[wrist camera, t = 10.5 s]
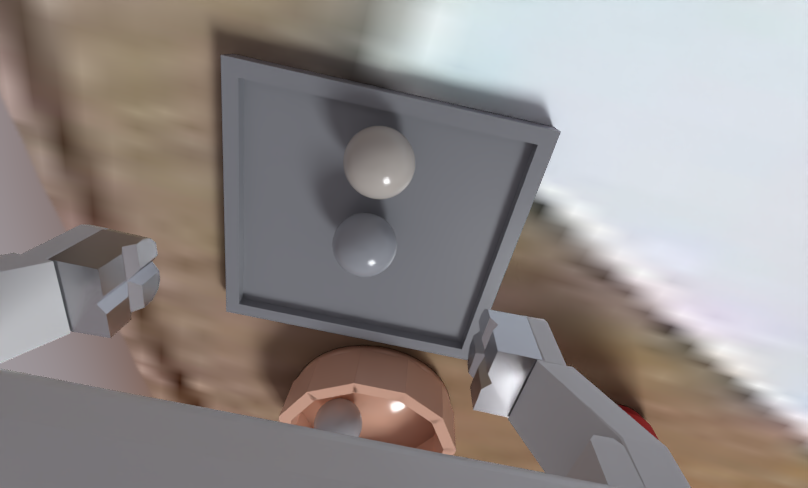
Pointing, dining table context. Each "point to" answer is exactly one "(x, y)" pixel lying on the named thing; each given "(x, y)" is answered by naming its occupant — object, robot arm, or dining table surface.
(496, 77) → the dining table surface
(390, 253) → the pebble
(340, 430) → the pebble
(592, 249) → the dining table surface
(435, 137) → the tray
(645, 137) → the dining table surface
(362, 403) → the bowl
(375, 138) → the pebble
